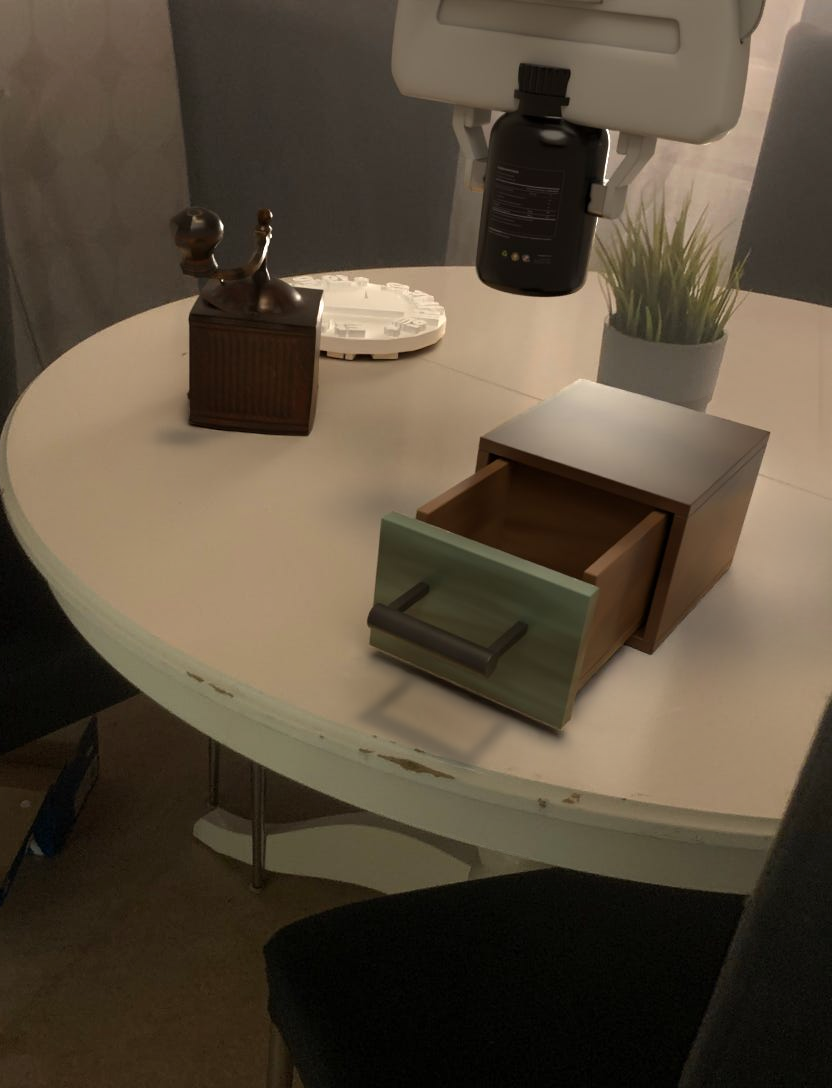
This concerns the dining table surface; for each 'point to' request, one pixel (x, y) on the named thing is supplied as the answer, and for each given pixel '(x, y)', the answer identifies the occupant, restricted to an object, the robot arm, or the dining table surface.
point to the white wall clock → (374, 317)
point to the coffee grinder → (248, 335)
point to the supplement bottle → (539, 192)
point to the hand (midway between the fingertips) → (539, 203)
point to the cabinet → (647, 478)
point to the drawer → (517, 584)
